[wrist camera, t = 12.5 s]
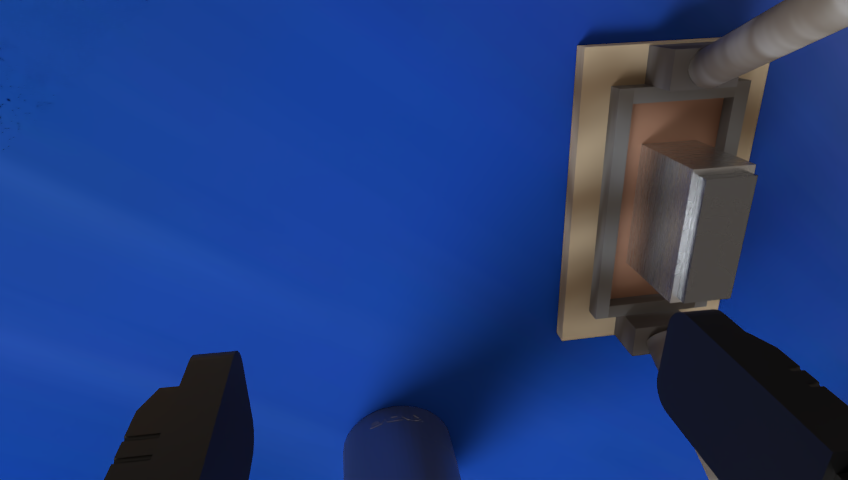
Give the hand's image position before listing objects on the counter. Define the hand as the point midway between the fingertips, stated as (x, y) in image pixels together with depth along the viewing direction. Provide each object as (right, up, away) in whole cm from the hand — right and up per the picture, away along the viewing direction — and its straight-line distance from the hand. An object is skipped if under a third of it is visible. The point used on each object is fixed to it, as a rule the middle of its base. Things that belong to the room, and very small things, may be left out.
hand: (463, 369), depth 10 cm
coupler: (+16, +5, +29) cm, 34 cm away
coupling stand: (+16, +6, +31) cm, 35 cm away
